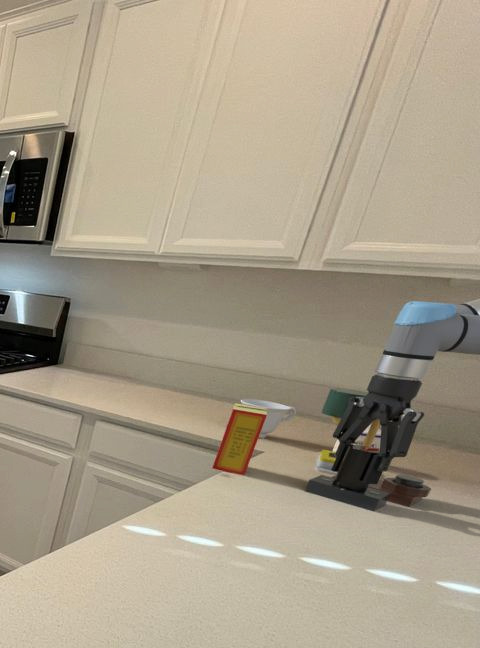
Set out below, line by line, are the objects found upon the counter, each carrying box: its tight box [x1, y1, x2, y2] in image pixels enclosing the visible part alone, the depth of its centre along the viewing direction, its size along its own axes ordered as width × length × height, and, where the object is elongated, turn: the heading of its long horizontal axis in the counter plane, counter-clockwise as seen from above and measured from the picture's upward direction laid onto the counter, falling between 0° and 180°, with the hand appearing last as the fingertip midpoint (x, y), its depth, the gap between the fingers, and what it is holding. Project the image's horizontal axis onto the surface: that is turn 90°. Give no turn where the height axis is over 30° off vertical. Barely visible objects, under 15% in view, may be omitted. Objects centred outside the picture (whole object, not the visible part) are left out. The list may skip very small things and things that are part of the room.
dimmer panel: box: [304, 474, 391, 512], centre depth 133 cm, size 12×10×3 cm
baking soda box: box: [211, 402, 267, 476], centre depth 147 cm, size 10×6×16 cm
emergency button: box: [314, 449, 337, 476], centre depth 153 cm, size 9×4×15 cm
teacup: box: [240, 398, 297, 439], centre depth 180 cm, size 12×15×10 cm
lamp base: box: [331, 475, 432, 508], centre depth 137 cm, size 15×10×4 cm, turn 31°
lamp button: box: [394, 474, 425, 488], centre depth 133 cm, size 4×4×2 cm
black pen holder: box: [333, 445, 380, 491], centre depth 131 cm, size 6×6×9 cm
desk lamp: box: [321, 387, 381, 447], centre depth 141 cm, size 12×8×18 cm, turn 31°
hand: (353, 476), depth 132 cm, fingers open, 6 cm apart
